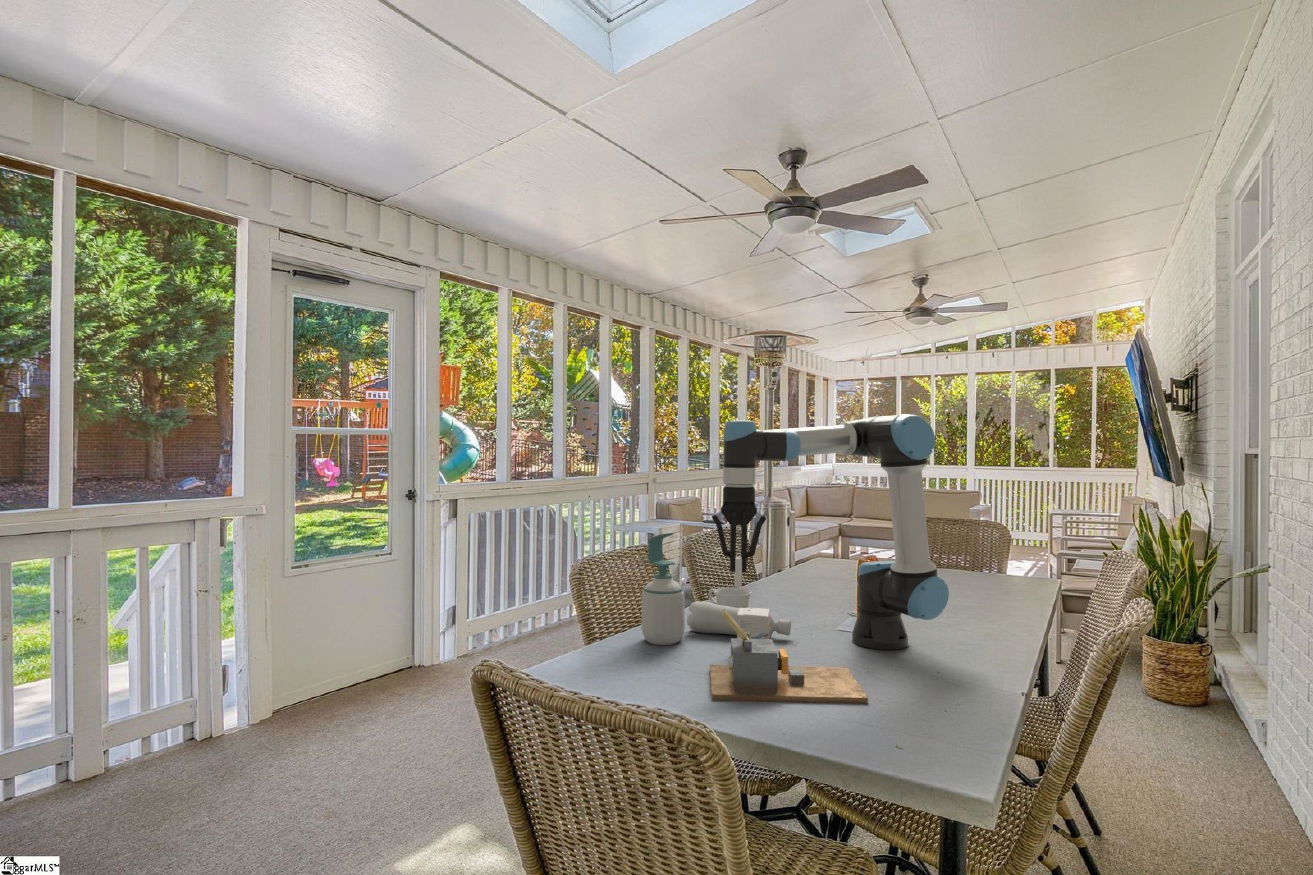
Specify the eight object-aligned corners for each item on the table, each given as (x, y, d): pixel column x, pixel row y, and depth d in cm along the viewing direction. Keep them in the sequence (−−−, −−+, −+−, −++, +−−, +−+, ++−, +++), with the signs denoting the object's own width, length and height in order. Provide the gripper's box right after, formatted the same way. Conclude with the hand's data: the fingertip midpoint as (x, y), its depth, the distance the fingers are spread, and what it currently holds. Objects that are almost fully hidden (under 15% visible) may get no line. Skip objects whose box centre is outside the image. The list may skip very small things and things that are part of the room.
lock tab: (745, 641, 159) (749, 638, 159) (747, 646, 155) (751, 643, 155) (721, 611, 160) (725, 608, 160) (722, 616, 155) (726, 613, 155)
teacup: (718, 614, 222) (718, 584, 222) (758, 621, 214) (758, 590, 214) (699, 622, 213) (699, 590, 213) (740, 629, 204) (740, 597, 204)
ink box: (768, 660, 175) (768, 615, 175) (736, 658, 176) (736, 614, 177) (770, 650, 183) (769, 608, 183) (739, 648, 185) (738, 606, 185)
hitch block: (847, 672, 166) (847, 627, 166) (867, 703, 146) (867, 651, 146) (710, 669, 168) (709, 625, 168) (711, 700, 148) (711, 649, 148)
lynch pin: (784, 666, 160) (784, 649, 160) (788, 675, 154) (788, 657, 154) (728, 665, 160) (728, 648, 160) (729, 674, 154) (729, 655, 154)
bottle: (684, 625, 197) (786, 638, 187) (689, 596, 202) (789, 607, 192) (691, 635, 204) (789, 648, 194) (696, 606, 209) (792, 618, 199)
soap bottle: (661, 650, 184) (661, 536, 184) (632, 640, 193) (632, 532, 193) (693, 641, 192) (693, 533, 192) (664, 632, 201) (664, 529, 201)
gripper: (764, 485, 161) (763, 583, 161) (710, 484, 162) (709, 582, 161) (768, 487, 154) (767, 589, 153) (712, 486, 154) (710, 588, 154)
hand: (738, 585), depth 157 cm, fingers closed
